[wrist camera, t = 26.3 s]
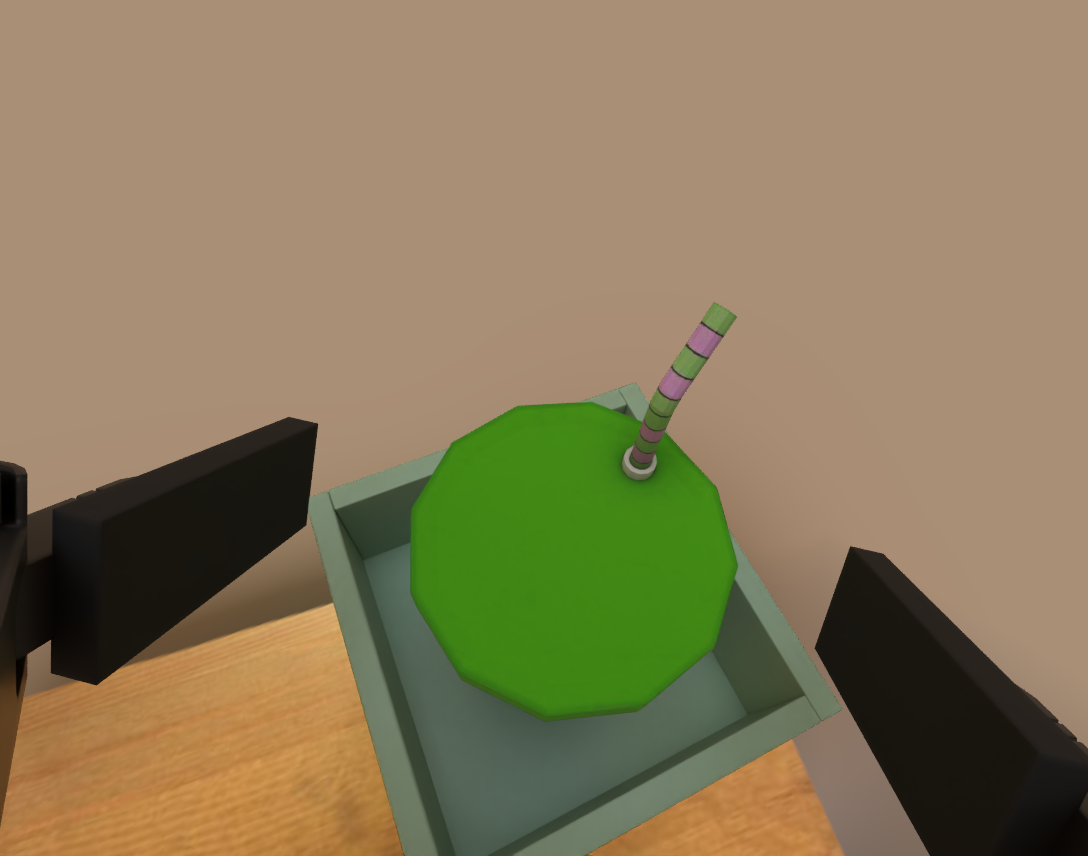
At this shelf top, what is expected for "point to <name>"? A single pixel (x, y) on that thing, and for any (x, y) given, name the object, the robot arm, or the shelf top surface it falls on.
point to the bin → (521, 739)
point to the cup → (575, 552)
